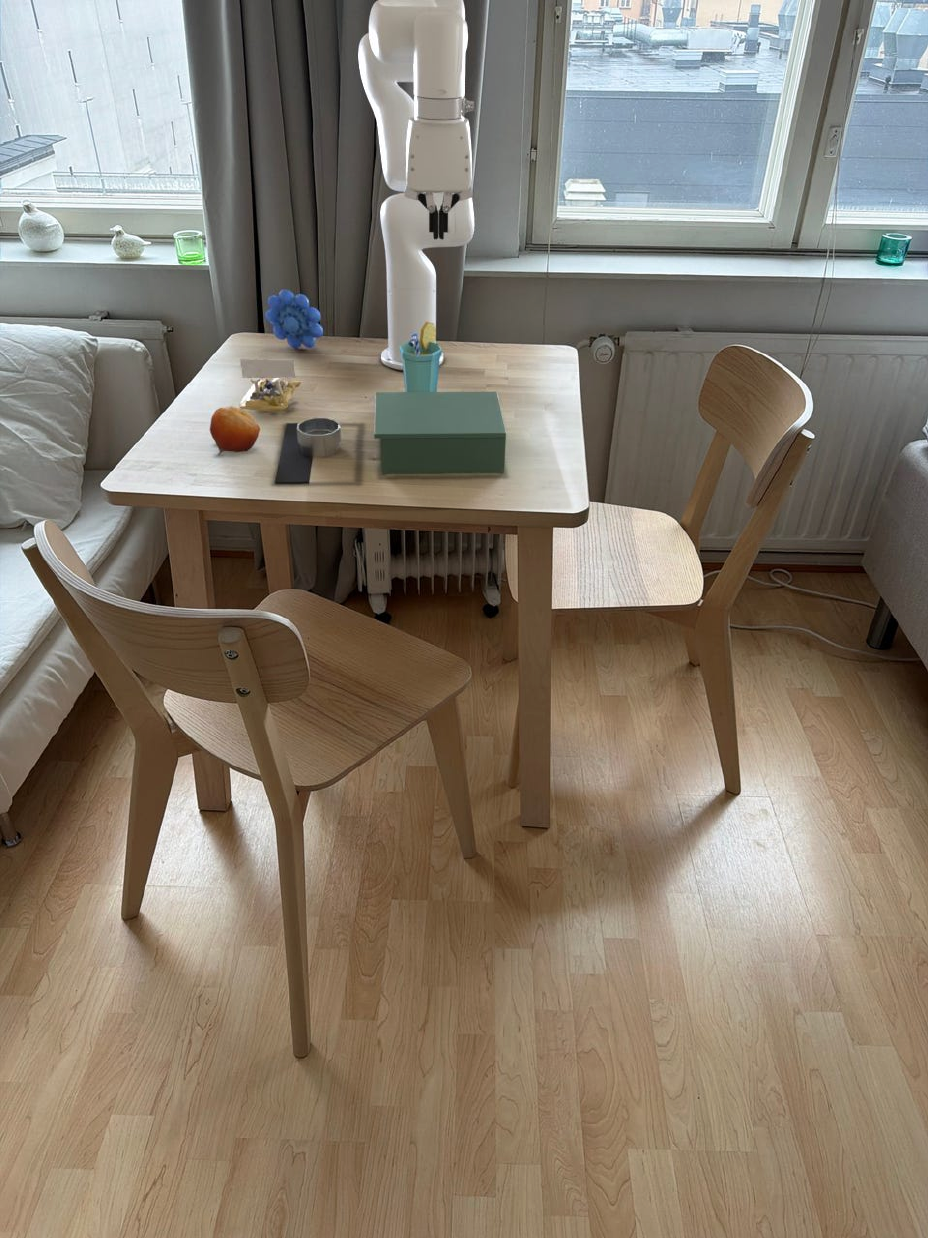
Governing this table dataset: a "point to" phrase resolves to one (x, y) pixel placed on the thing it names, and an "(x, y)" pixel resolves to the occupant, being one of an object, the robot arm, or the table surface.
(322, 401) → the table surface
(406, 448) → the open green box
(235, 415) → the fruit
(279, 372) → the cake
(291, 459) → the mat
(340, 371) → the table surface
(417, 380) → the cup
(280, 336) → the blue flower
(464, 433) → the lid
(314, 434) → the bowl
